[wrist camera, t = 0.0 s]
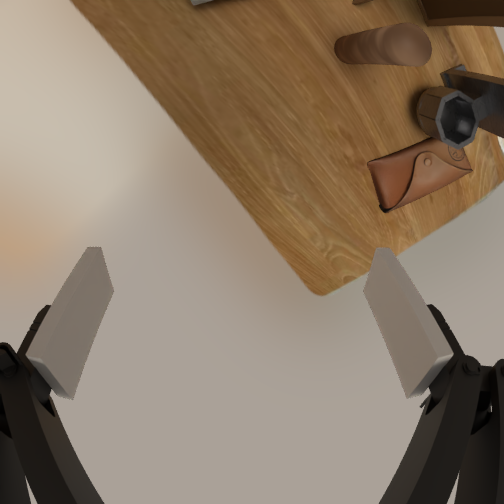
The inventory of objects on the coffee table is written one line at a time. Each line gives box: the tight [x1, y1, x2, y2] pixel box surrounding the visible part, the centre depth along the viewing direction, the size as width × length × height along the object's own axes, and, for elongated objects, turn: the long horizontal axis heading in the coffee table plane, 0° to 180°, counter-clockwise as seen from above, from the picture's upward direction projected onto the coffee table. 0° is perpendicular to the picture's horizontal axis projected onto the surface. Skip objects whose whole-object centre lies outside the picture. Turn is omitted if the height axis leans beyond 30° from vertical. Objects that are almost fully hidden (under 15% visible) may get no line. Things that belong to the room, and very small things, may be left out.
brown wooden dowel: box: [334, 23, 432, 67], centre depth 24 cm, size 4×4×16 cm
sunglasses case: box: [367, 137, 473, 213], centre depth 39 cm, size 18×7×7 cm
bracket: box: [417, 64, 504, 150], centre depth 28 cm, size 14×8×14 cm, turn 123°
